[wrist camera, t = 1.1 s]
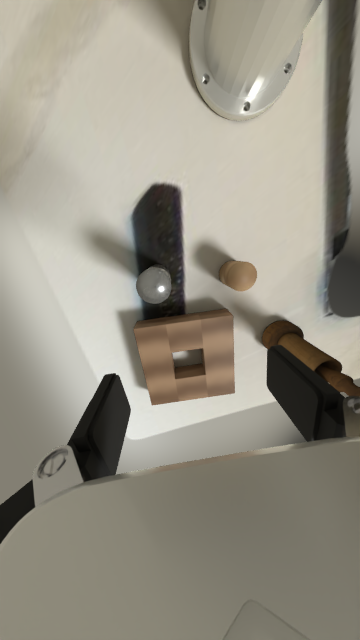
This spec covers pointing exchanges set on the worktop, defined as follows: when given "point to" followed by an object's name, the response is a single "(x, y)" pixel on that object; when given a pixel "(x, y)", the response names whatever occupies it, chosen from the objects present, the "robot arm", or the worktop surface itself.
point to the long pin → (154, 284)
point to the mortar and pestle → (309, 355)
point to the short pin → (238, 275)
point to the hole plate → (181, 335)
